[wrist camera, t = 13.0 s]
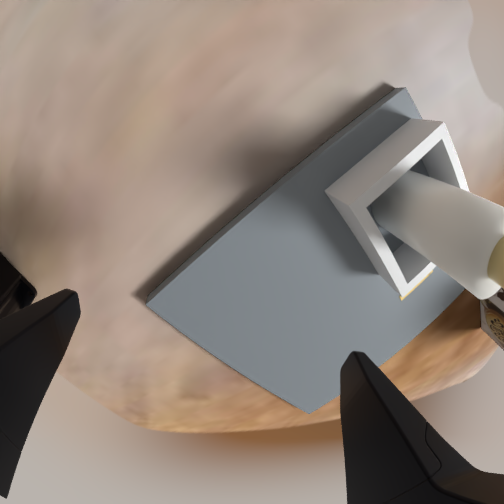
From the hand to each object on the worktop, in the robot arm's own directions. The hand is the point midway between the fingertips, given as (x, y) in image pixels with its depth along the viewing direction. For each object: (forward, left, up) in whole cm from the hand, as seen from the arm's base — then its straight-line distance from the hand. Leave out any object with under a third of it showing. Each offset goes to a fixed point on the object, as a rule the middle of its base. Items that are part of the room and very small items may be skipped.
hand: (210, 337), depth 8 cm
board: (+5, -13, -12) cm, 18 cm away
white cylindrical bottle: (+11, -8, -10) cm, 17 cm away
